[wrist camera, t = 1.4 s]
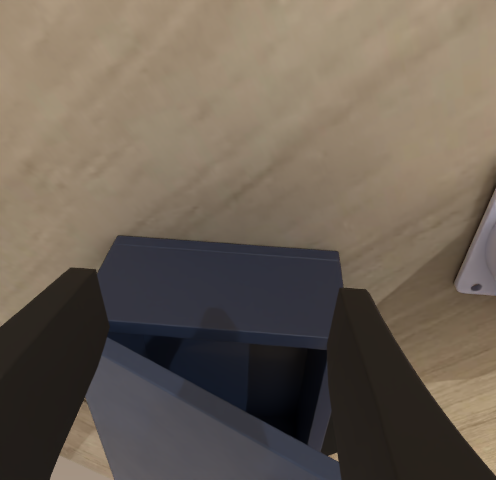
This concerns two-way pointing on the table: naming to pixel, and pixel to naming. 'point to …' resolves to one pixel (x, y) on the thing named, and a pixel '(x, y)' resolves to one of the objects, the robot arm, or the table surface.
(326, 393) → the box
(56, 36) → the table surface
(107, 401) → the lid
